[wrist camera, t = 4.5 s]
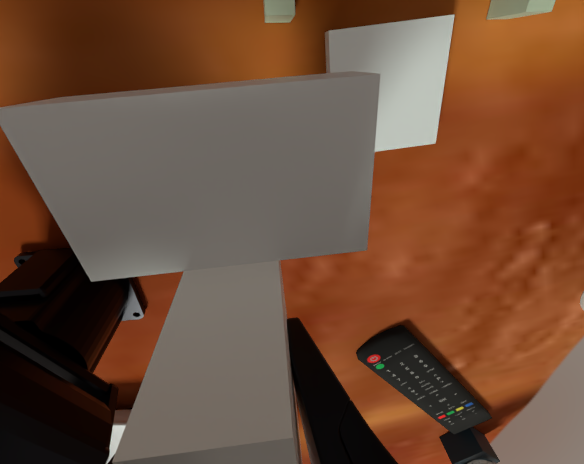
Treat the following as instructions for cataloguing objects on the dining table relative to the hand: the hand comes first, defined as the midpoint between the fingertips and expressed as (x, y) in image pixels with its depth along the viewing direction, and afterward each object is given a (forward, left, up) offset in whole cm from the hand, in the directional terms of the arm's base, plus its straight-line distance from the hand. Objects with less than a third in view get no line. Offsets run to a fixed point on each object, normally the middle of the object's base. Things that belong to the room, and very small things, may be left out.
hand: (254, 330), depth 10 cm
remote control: (-24, -17, -11) cm, 31 cm away
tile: (+6, -7, -11) cm, 15 cm away
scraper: (+2, 0, -1) cm, 2 cm away
